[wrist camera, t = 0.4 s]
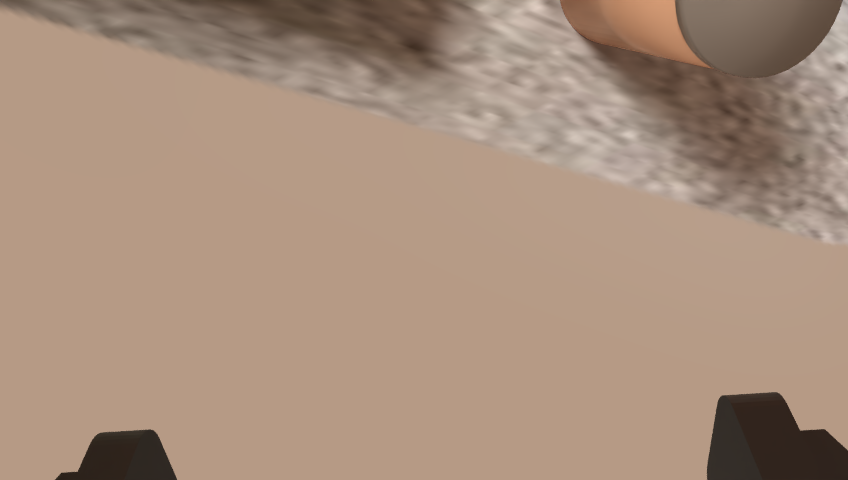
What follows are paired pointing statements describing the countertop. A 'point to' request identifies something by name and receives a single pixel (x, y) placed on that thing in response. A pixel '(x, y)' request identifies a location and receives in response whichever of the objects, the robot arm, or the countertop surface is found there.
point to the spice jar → (710, 30)
